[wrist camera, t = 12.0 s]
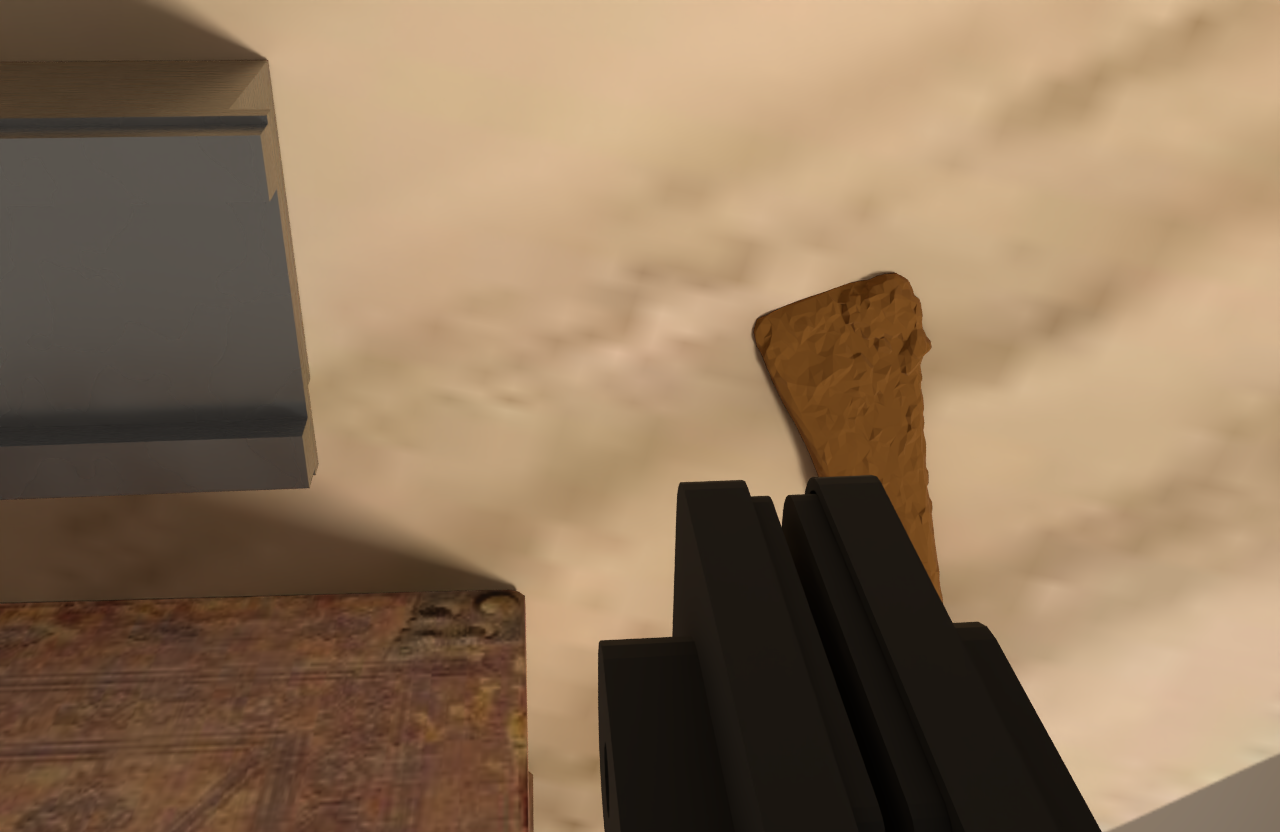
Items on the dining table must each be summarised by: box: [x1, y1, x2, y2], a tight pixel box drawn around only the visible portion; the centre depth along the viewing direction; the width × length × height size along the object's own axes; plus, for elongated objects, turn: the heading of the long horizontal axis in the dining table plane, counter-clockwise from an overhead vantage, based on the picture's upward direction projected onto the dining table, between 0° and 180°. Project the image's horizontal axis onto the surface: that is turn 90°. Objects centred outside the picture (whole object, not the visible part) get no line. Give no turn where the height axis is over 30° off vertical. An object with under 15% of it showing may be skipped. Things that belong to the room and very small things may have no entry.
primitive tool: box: [754, 273, 943, 603], centre depth 42 cm, size 19×6×4 cm, turn 19°
